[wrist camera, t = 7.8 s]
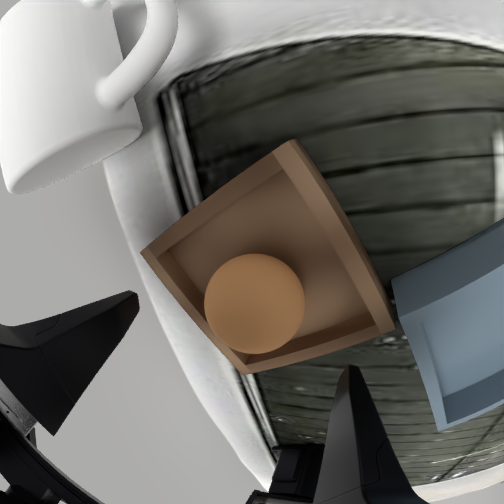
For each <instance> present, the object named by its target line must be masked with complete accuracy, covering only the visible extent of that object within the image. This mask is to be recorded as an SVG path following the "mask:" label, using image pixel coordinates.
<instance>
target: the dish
mask: <svg viewBox="0 0 504 504" xmlns="http://www.w3.org/2000/svg"><path fill="white" fill-rule="evenodd" d="M391 283H392V288H393V292H394V297H395V302H396V307H397V313H398V318H399V320H400V323H401V325H402V327H403V330H404V332H405V335H406V337H407V339H408V342H409V345H410V347H411V350H412V352H413V355H414V357H415V360H416V363H417V366H418V368H419V371H420V374H421V377H422V380H423V383H424V386H425V389H426V392H427V395H428V398H429V401H430V404H431V408H432V411H433V414H434V418H435V421H436V425H437V429H438V431H441V430H444V429H446V428H449V427H452V426H454V425H457V424H460V423H462V422H465V421H467V420H469V419H472V418H474V417H476V416H479V415H481V414H483V413H485V412H487V411H489V410H491V409H493V408H495V407H497V406H499V405H501V404H503V403H504V218H503V219H502V220H500V221H499V222H497V223H495V224H494V225H492V226H491V227H489V228H487V229H486V230H484V231H482V232H480V233H479V234H477V235H475V236H474V237H472V238H470V239H468V240H467V241H465V242H463V243H461V244H459V245H458V246H456V247H454V248H452V249H450V250H448V251H446V252H445V253H443V254H441V255H439V256H437V257H435V258H433V259H431V260H429V261H427V262H425V263H423V264H421V265H419V266H417V267H415V268H413V269H411V270H409V271H407V272H405V273H403V274H401V275H399V276H397V277H394V278H392V279H391Z"/></svg>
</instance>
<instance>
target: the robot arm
mask: <svg viewBox="0 0 504 504" xmlns="http://www.w3.org/2000/svg"><path fill="white" fill-rule="evenodd" d="M139 309H140V307H139V300H138V295H137V293H135V292H132V291H130V290H128V291H125V292H122V293H119V294H116V295H113V296H110V297H108V298H105V299H102V300H99V301H96V302H93V303H90V304H87V305H84V306H81V307H78V308H75V309H73V310H70V311H67V312H64V313H62V314H58V315H55V316H52V317H49V318H46V319H42V320H39V321H35V322H31V323H26V324H23V325H18V326H5V325H2V324H0V473H1V474H2V475H3V477H4V478H5V479H6V480H7V482H8V483H9V484H10V486H9V488H8V489H7V490H6V492H3V491H1V490H0V504H58V503H59V501H60V500H61V501H63V502H65V503H66V504H104V503H103V502H101V501H100V500H98V499H97V498H96V497H94V496H93V495H91V494H90V493H88V492H87V491H86V490H84V489H83V488H81V487H80V486H79V485H78V484H77V483H75V482H74V481H73V480H71V479H70V478H69V477H68V476H66V475H65V474H64V473H63V472H62V471H61V470H59V469H58V468H57V467H56V466H55V465H54V464H53V463H52V462H50V461H49V460H48V459H47V458H46V457H45V456H44V455H43V454H42V453H41V452H40V451H39V450H38V449H37V446H36V437H35V428H34V426H35V424H36V423H37V422H39V423H40V424H41V425H42V426H43V427H44V428H45V429H46V430H47V431H48V432H49V433H50V434H51V435H53V436H54V435H55V434H56V433H57V431H58V430H59V428H60V427H61V425H62V423H63V422H64V420H65V419H66V417H67V416H68V414H69V413H70V411H71V410H72V408H73V407H74V406H75V404H76V402H77V401H78V399H79V398H80V397H81V395H82V394H83V392H84V390H85V389H86V388H87V387H88V385H89V384H90V382H91V381H92V380H93V378H94V377H95V375H96V374H97V373H98V371H99V370H100V368H101V367H102V366H103V364H104V363H105V362H106V360H107V359H108V357H109V356H110V355H111V353H112V352H113V351H114V349H115V348H116V347H117V345H118V344H119V343H120V341H121V340H122V338H123V337H124V335H125V334H126V332H127V330H128V329H129V327H130V325H131V324H132V322H133V321H134V318H135V317H136V316H137V314H138V312H139ZM387 437H388V436H387V433H386V431H385V428H384V426H383V423H382V421H381V418H380V416H379V413H378V411H377V409H376V406H375V404H374V401H373V399H372V397H371V394H370V392H369V390H368V387H367V385H366V383H365V380H364V378H363V376H362V373H361V371H360V369H359V367H358V366H355V365H351V364H349V365H347V367H346V368H345V370H344V371H343V373H342V374H341V376H340V378H339V381H338V385H337V390H336V394H335V398H334V402H333V405H332V409H331V413H330V419H329V425H328V432H327V438H326V444H325V447H324V446H323V445H321V444H315V445H305V446H291V447H273V448H272V449H271V452H273V453H274V454H276V455H277V456H279V459H278V462H277V465H276V468H275V471H274V473H273V476H272V483H271V486H270V488H269V491H268V492H269V493H266V492H261V491H259V490H254V492H252V495H250V497H249V499H248V500H247V502H246V504H266V503H268V504H429V503H428V502H426V501H425V500H423V499H421V498H420V497H419V496H418V495H417V494H416V493H415V492H414V490H413V489H412V487H411V485H410V483H409V481H408V479H407V477H406V475H405V474H404V472H403V470H402V468H401V466H400V464H399V462H398V460H397V458H396V456H395V453H394V451H393V448H392V446H391V443H390V441H389V438H387Z"/></svg>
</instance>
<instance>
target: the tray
mask: <svg viewBox="0 0 504 504" xmlns="http://www.w3.org/2000/svg"><path fill="white" fill-rule="evenodd" d="M140 253H141V255H142V256H143V258H144V259H145V260H146V262H147V263H148V264H149V266H150V267H151V268H152V270H153V271H154V272H155V274H156V275H157V276H158V277H159V279H160V280H161V281H162V283H163V284H164V285H165V286H166V288H167V289H168V290H169V292H170V293H171V294H172V295H173V297H174V298H175V299H176V300H177V301H178V303H179V304H180V305H181V306H182V308H183V309H184V310H185V311H186V312H187V314H188V315H189V316H190V317H191V318H192V320H193V321H194V322H195V323H196V324H197V325H198V327H199V328H200V329H201V330H202V331H203V332H204V333H205V335H206V336H207V337H208V338H209V339H210V340H211V341H212V342H213V344H214V345H215V346H216V347H217V348H218V349H219V350H220V351H221V352H222V354H223V355H224V356H225V357H226V358H227V359H228V360H229V361H230V362H231V363H232V364H233V365H234V366H235V367H236V369H237V370H238V371H239V372H240V373H241V374H242V375H246V374H251V373H255V372H260V371H264V370H269V369H273V368H277V367H281V366H285V365H289V364H293V363H297V362H300V361H304V360H308V359H311V358H315V357H318V356H321V355H325V354H328V353H331V352H334V351H338V350H341V349H344V348H347V347H350V346H353V345H356V344H359V343H361V342H364V341H367V340H370V339H373V338H375V337H378V336H381V335H383V334H386V333H388V332H391V331H393V330H396V326H395V319H394V313H393V307H392V303H391V300H390V298H389V296H388V294H387V292H386V290H385V288H384V286H383V283H382V281H381V279H380V277H379V275H378V273H377V271H376V269H375V267H374V265H373V263H372V261H371V259H370V257H369V256H368V254H367V252H366V250H365V248H364V246H363V244H362V242H361V240H360V239H359V237H358V235H357V233H356V231H355V230H354V228H353V226H352V224H351V222H350V221H349V219H348V217H347V215H346V214H345V212H344V210H343V209H342V207H341V205H340V204H339V202H338V200H337V199H336V197H335V195H334V194H333V192H332V190H331V189H330V187H329V185H328V184H327V182H326V181H325V179H324V178H323V176H322V174H321V173H320V171H319V170H318V168H317V167H316V165H315V164H314V162H313V161H312V159H311V158H310V156H309V155H308V153H307V152H306V150H305V149H304V147H303V146H302V144H301V143H300V141H299V140H298V139H297V138H295V139H292V140H289V141H287V142H285V143H284V144H282V145H281V146H279V147H278V148H276V149H275V150H273V151H272V152H271V153H269V154H268V155H266V156H265V157H263V158H262V159H260V160H259V161H257V162H256V163H255V164H253V165H252V166H250V167H249V168H247V169H246V170H245V171H243V172H242V173H240V174H239V175H238V176H236V177H235V178H234V179H232V180H231V181H229V182H228V183H227V184H225V185H224V186H223V187H221V188H220V189H219V190H217V191H216V192H215V193H213V194H212V195H211V196H209V197H208V198H207V199H205V200H204V201H203V202H201V203H200V204H199V205H197V206H196V207H195V208H194V209H192V210H191V211H190V212H189V213H187V214H186V215H185V216H183V217H182V218H181V219H180V220H178V221H177V222H176V223H175V224H173V225H172V226H171V227H170V228H169V229H167V230H166V231H165V232H164V233H162V234H161V235H160V236H159V237H158V238H156V239H155V240H154V241H153V242H152V243H150V244H149V245H148V246H147V247H146V248H145V249H143V250H142V251H141V252H140ZM245 254H264V255H269V256H272V257H274V258H277V259H279V260H280V261H282V262H284V263H285V264H286V265H288V266H289V267H290V268H291V269H292V270H293V272H294V273H295V274H296V275H297V277H298V279H299V280H300V282H301V285H302V287H303V291H304V295H305V313H304V317H303V320H302V323H301V325H300V327H299V329H298V330H297V332H296V333H295V335H294V336H293V337H292V338H291V339H290V340H289V341H288V342H287V343H285V344H284V345H282V346H281V347H279V348H277V349H275V350H273V351H270V352H266V353H260V354H250V353H243V352H240V351H237V350H234V349H232V348H230V347H228V346H227V345H225V344H224V343H223V342H222V341H220V340H219V339H218V338H217V337H216V335H215V334H214V333H213V331H212V330H211V328H210V326H209V324H208V322H207V319H206V315H205V309H204V299H205V292H206V289H207V286H208V283H209V281H210V279H211V278H212V276H213V275H214V273H215V272H216V271H217V270H218V269H219V268H220V267H221V266H222V265H223V264H225V263H226V262H228V261H229V260H231V259H233V258H235V257H238V256H241V255H245Z"/></svg>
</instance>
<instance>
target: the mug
mask: <svg viewBox="0 0 504 504" xmlns="http://www.w3.org/2000/svg"><path fill="white" fill-rule="evenodd" d="M144 1H145V4H146V8H147V21H146V25H145V28H144V31H143V33H142V35H141V37H140V39H139V40H138V42H137V44H136V45H135V47H134V48H133V49H132V51H131V52H130V53H129V55H128V56H127V57H126V58H125V59H124V60H123V56H122V52H121V48H120V44H119V40H118V36H117V32H116V27H115V23H114V18H113V14H112V9H111V4H110V0H21V1H19V2H18V3H17V4H16V5H14V6H13V7H12V8H11V9H10V10H9V11H8V12H7V13H6V14H5V15H4V16H3V18H2V19H1V20H0V164H1V169H2V172H3V177H4V180H5V184H6V188H7V190H8V191H9V192H10V193H11V194H24V193H28V192H31V191H34V190H37V189H39V188H42V187H45V186H47V185H50V184H52V183H55V182H57V181H59V180H61V179H64V178H66V177H68V176H70V175H72V174H75V173H77V172H79V171H81V170H83V169H85V168H87V167H89V166H91V165H93V164H95V163H97V162H99V161H101V160H103V159H105V158H107V157H109V156H111V155H112V154H114V153H116V152H118V151H119V150H121V149H123V148H124V147H126V146H127V145H129V144H130V143H132V142H133V141H134V140H136V139H137V138H138V137H139V136H140V134H141V133H142V130H143V125H142V122H141V119H140V116H139V113H138V109H137V106H136V103H135V99H134V95H135V94H136V93H137V92H138V91H139V90H140V89H141V88H142V87H144V86H145V85H146V84H147V83H148V81H149V80H150V79H151V78H152V77H153V76H154V75H155V74H156V72H157V71H158V70H159V69H160V67H161V66H162V64H163V63H164V61H165V60H166V58H167V57H168V55H169V53H170V51H171V49H172V46H173V44H174V41H175V38H176V34H177V29H178V12H177V7H176V3H175V0H144Z"/></svg>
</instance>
